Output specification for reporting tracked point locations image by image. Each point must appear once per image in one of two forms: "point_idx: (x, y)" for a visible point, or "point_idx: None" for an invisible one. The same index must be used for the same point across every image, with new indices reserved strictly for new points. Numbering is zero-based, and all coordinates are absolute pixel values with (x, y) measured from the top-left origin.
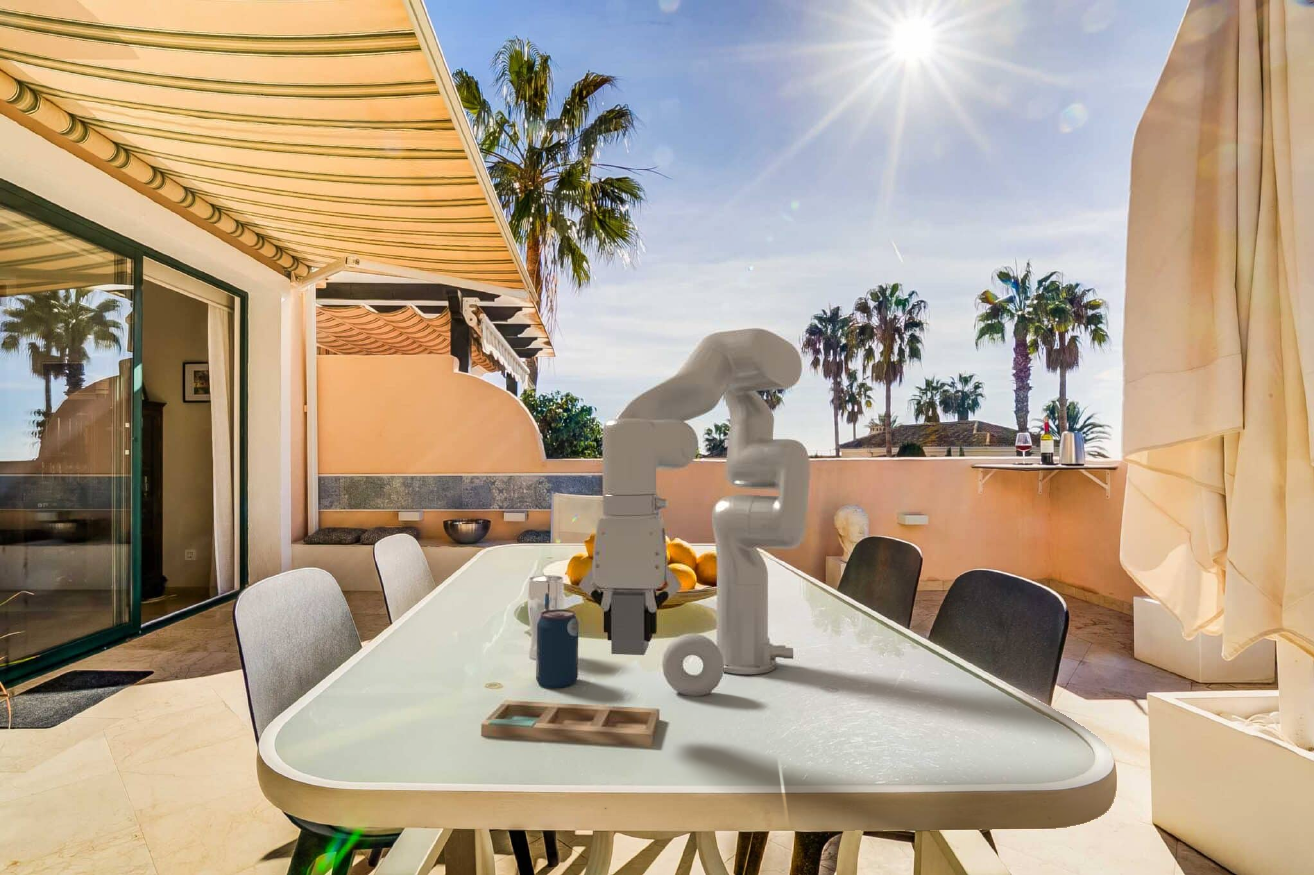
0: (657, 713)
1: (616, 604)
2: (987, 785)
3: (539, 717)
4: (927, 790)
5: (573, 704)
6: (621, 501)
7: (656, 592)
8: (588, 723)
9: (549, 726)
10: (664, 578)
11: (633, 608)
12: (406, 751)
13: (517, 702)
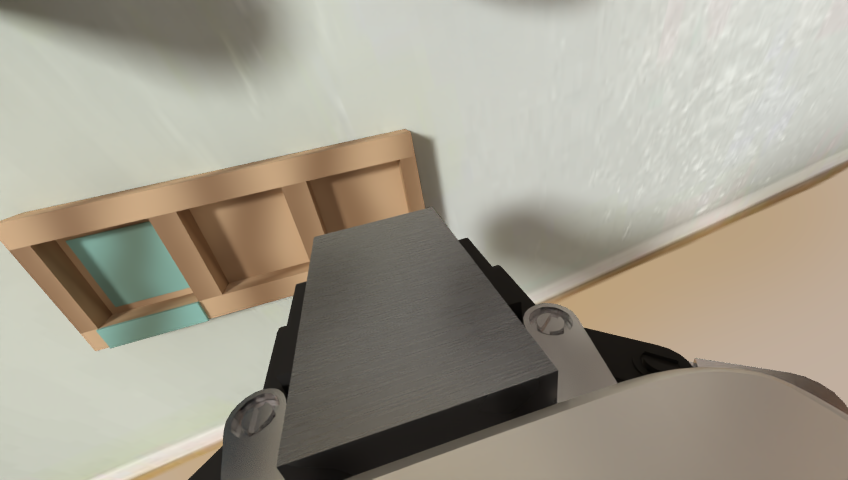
0: (414, 160)
1: None
2: (802, 172)
3: (146, 224)
4: (739, 209)
5: (199, 182)
6: None
7: (608, 372)
8: (273, 206)
9: (240, 302)
10: (786, 385)
11: None
12: (35, 412)
13: (41, 226)
